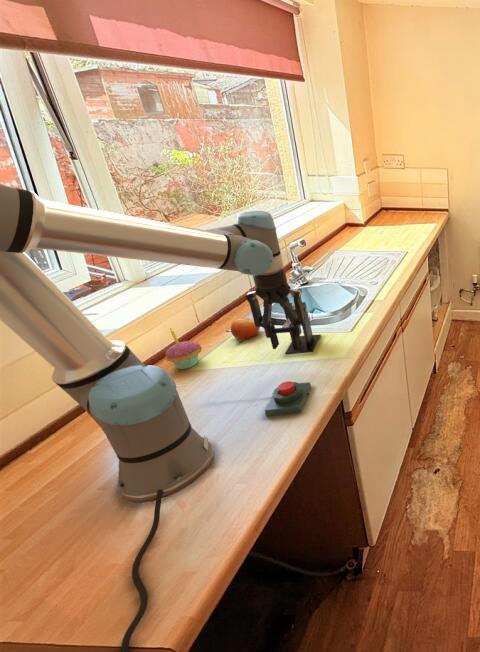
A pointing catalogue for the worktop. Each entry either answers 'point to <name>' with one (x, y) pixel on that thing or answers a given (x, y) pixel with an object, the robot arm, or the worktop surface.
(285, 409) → the button box
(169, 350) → the cupcake
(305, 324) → the bracket
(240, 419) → the worktop surface
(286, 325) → the lever
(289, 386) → the button
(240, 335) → the fruit
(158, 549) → the worktop surface
